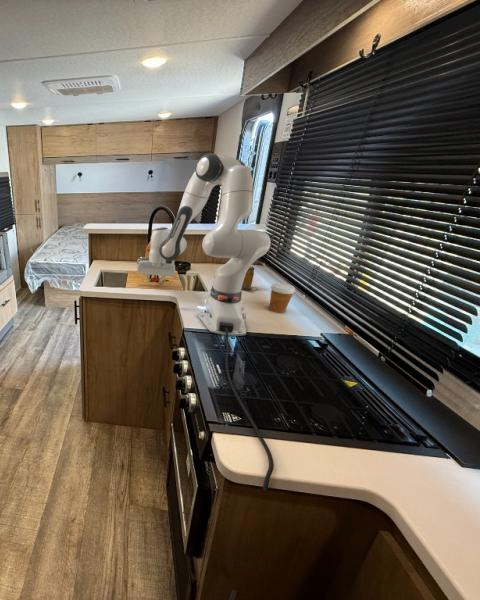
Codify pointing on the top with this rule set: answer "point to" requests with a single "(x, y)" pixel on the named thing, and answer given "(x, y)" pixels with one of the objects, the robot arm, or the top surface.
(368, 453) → the top surface
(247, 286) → the condiment
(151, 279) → the lever
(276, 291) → the disposable coffee cup
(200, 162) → the robot arm
